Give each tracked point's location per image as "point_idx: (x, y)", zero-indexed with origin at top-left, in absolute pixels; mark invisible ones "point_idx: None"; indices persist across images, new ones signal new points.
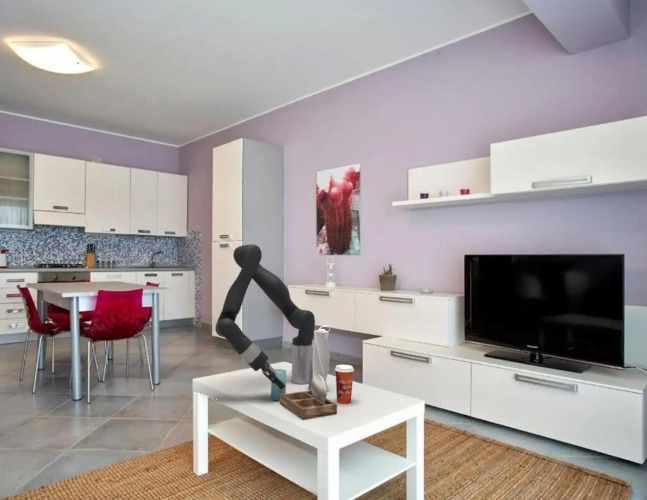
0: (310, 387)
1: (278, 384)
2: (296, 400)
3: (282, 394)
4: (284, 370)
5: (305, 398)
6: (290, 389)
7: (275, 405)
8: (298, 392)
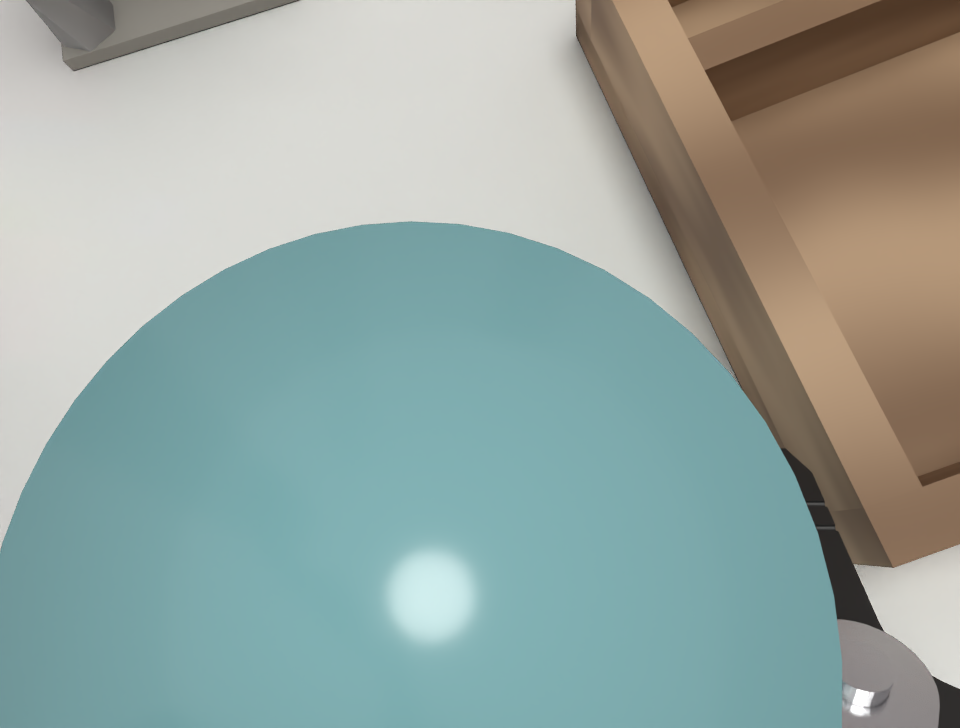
0: (101, 12)
1: None
2: (804, 249)
3: (888, 507)
4: (326, 310)
5: (782, 88)
6: (40, 320)
7: (936, 657)
8: (728, 155)
